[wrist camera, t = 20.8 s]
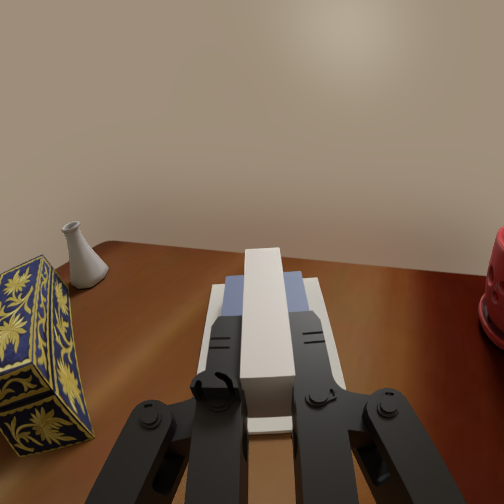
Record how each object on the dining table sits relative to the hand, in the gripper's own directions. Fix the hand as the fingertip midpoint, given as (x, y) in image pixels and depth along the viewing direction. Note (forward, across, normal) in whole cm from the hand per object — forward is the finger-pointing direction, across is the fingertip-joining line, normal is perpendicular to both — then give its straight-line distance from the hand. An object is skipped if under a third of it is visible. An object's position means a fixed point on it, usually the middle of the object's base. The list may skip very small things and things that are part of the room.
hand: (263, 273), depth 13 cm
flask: (+24, -30, -18) cm, 42 cm away
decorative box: (+6, -29, -18) cm, 35 cm away
